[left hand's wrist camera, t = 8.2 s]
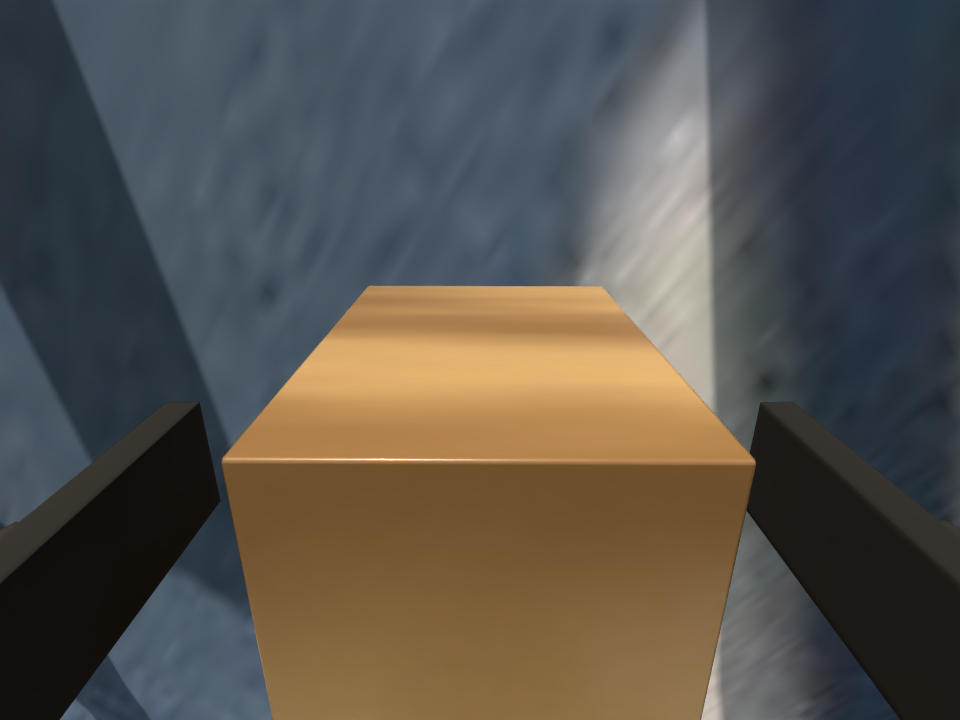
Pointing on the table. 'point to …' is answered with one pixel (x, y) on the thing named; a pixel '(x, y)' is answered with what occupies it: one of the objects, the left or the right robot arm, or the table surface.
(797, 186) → the table surface
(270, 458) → the box
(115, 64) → the table surface
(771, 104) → the table surface
